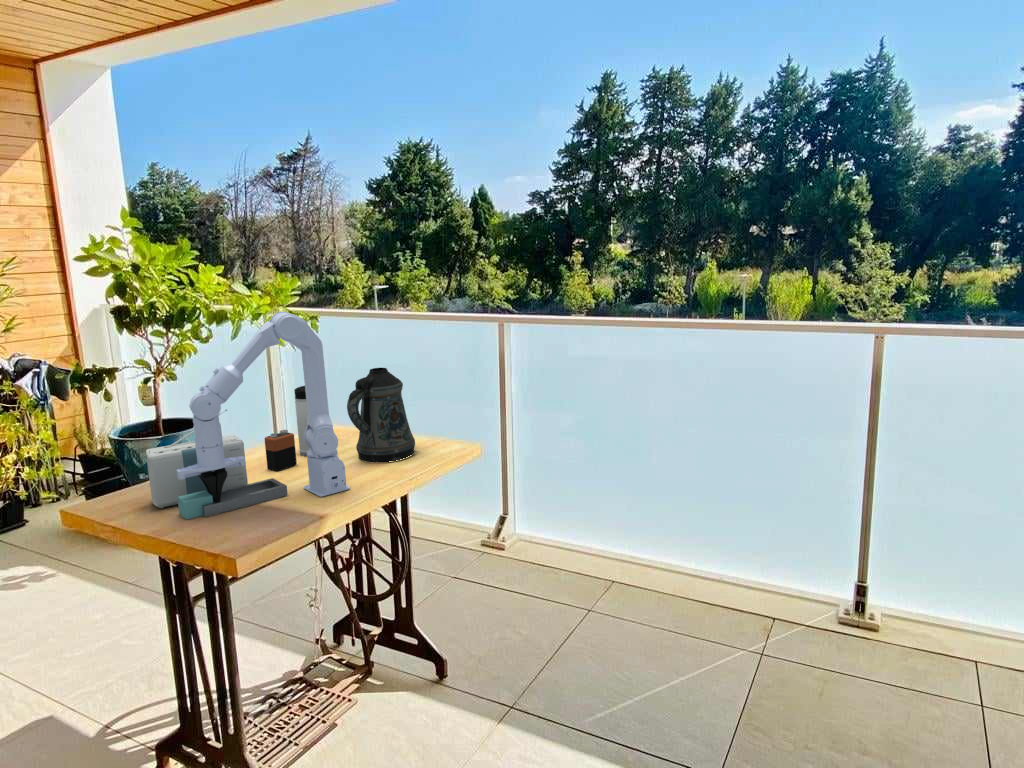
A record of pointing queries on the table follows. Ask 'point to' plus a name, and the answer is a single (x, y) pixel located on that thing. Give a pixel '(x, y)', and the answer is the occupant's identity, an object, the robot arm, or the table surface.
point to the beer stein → (380, 418)
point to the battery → (280, 451)
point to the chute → (246, 496)
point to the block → (193, 504)
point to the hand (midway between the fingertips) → (215, 502)
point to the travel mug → (301, 418)
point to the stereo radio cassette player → (182, 456)
